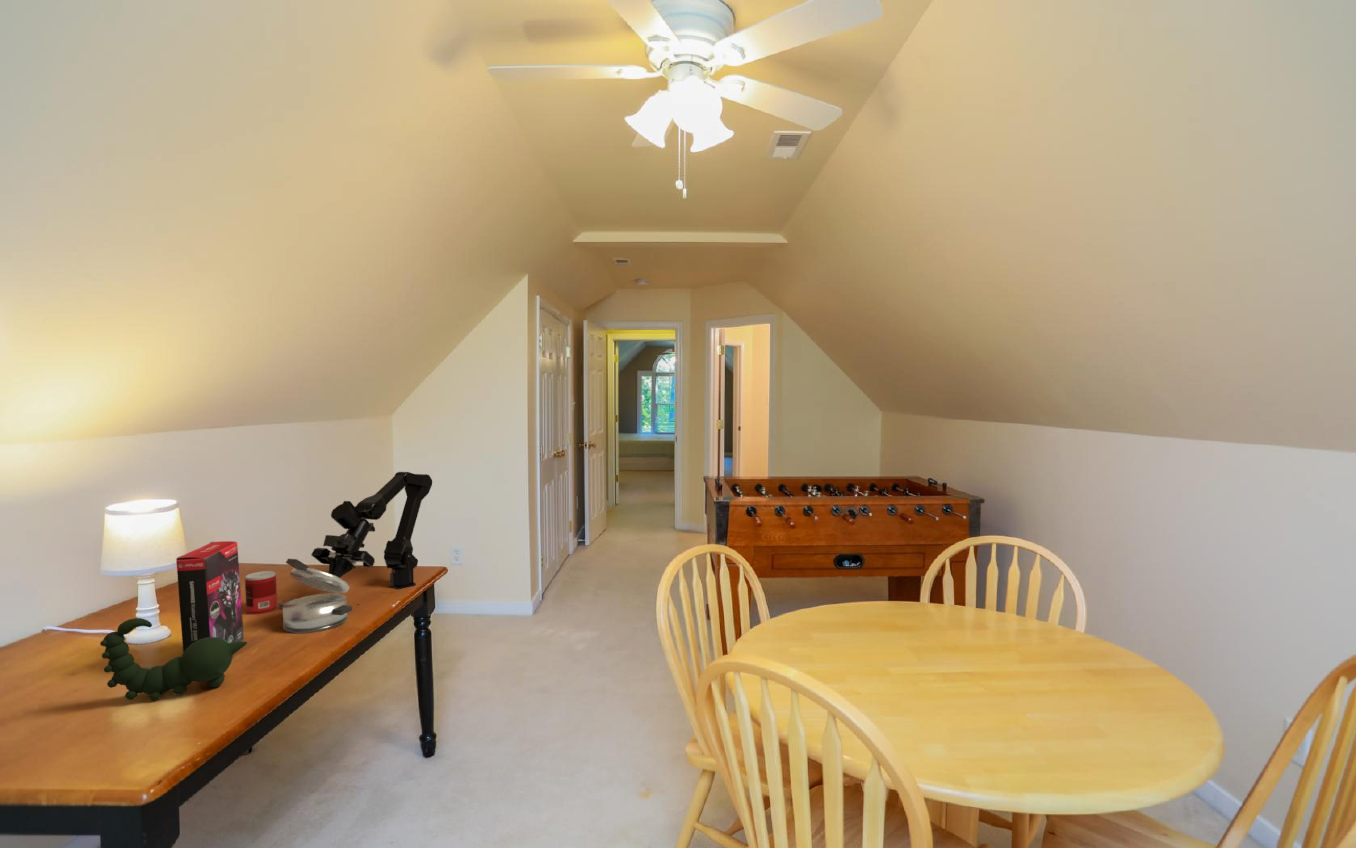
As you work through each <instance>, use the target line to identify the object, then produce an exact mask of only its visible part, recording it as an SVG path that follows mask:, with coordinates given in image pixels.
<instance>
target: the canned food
mask: <svg viewBox="0 0 1356 848" xmlns="http://www.w3.org/2000/svg"><path fill="white" fill-rule="evenodd" d="M244 585H245V586H244V588H245V590H244V591H245V608H246V612H247V614H250V615H261V614H266V613H269V612H272V611H274V610H276V609H277V606H278V599H277V598H278V597H277V595H278V593H277V591H278V590H277V573H276V571H274V570H273V571H272V570H264V571H257V572H253V573H249V574H247V575H245V576H244Z"/></svg>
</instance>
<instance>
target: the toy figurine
mask: <svg viewBox="0 0 1356 848" xmlns="http://www.w3.org/2000/svg"><path fill="white" fill-rule="evenodd" d="M139 627H147V628H152V627H153V624H152V622H150V621H149V620H148V619H145V618H141V617H134V618H129V619H127V620H124V621H123V622H122V623H120V624H119V625H118V627H117V631H111V632H109V633H107V634H106V635H105V636H104V638H103V639H102V640H101V641H100V642H99V643H100V644H99V645H100V646H101V647H104V648H105V649H104V652H103V653H102V654H101V657H102V659H107V660H108V662H107V665H106V666H105V667H104V668H103V671H104V673H111V672H112V673H113V674H112V677H111V679H109V680H108V681H107V682H106V686H107V687H109V688H110V689H113V688H115V687H117V685H120V686H125V688H126V690H127V692H125V695H124V698H125V699H126V700H128V701H132V700H134V699H136V698H137V697H138V695H139V694H142V693H143V694H145V695H148V698H149V700H150V701H153V702H156V701H158V700H159V699H160V698H161V697H162V695H164V694H166V693H167V692H169V691H170V690H172V693H173V694H174V695H176V696H180V695H181V696H182V695H183V694H185V692H186V691H187V690H188V686H190V685H191V684H192V683H194V682H195V683H206V684H207V685H208V686H209V687H210V688H217V687H219V686H221V685H222V684H224V681H225V677H226V675H225V673H226V671H227V670H228V669H229V668H230V666H231V665H232V661H233V659H234V658H233V657H234V655H235V654H236V653H238V652H239V651H240V650H242V648H244V647H245V646H246V645H247V644H248V642H247V641H241V642H234V643H227V642H226V641H225V640H223V639H220V638H216V637H207V638H203V639H200V640H198V641H196V642H194V643H192V644H191V645H190V646H189V647H188V648H187V649H186V650H185V651H184V653H183V652H182V655H181V656H176V657H173V658H171V659H169V660H168V661H167V662H166V663H165V664H163V665H162V664H161V665H155V666H152V667H151V668H147V667H143V668H142V667H141V665H139V663H137V662H135V657H134V656H133V654H132V653H131V652H129V651H130V646H129V644H128V643H127V642H125V639H126V638H125V635H127V634H130V633H131V632H132V631H133V630H134V629H136V628H139Z"/></svg>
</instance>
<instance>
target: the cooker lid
mask: <svg viewBox="0 0 1356 848" xmlns="http://www.w3.org/2000/svg"><path fill="white" fill-rule="evenodd" d="M285 563H286V564H287V565H289V566H291V567H292V569H291V571H290V576H291V578H293V579H294V580H296V581H297V582H298V583H301V584H303V585H305V586H308V587H311V588H313V589H315V590H320V591H323V592H327V593H331V594H345V593H346V594H347V593H348V592H349V590H350V588H351V585H350V583H348V582H347V581H346V580H344V579H343V578H342V577H340V578H339V577H337V576H335V575H332V574H330V573H329V572H326V571H323V570H321V569H319V568H313V567H309V566H308V565H307V564H306V563H303V562H302V561H300V560H299V559H296V558H287V559H286V562H285Z"/></svg>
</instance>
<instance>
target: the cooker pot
mask: <svg viewBox="0 0 1356 848" xmlns="http://www.w3.org/2000/svg"><path fill="white" fill-rule="evenodd" d="M278 608H279V610H282V629H283V631H284V632H286V633H289V634H311V633H318V632H319V633H320V632H322V631H327V629H328V630H331V629H334V628H336V626H337V627H339V626H341V625H343V624H345V623H346V622H347V621H348V617H349V616H348V613H350V612H352V611H353V606H352V605H348V602H347V596H346V595H344V594H342V593H319V594H311V595H305V596H302V597H299V598H294V599H290V600H287V601H285V602H281V603H279V604H278ZM346 620H347V621H346ZM345 621H346V622H345ZM344 622H345V623H344ZM340 624H341V625H340ZM338 625H339V626H338ZM330 628H331V629H330Z"/></svg>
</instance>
